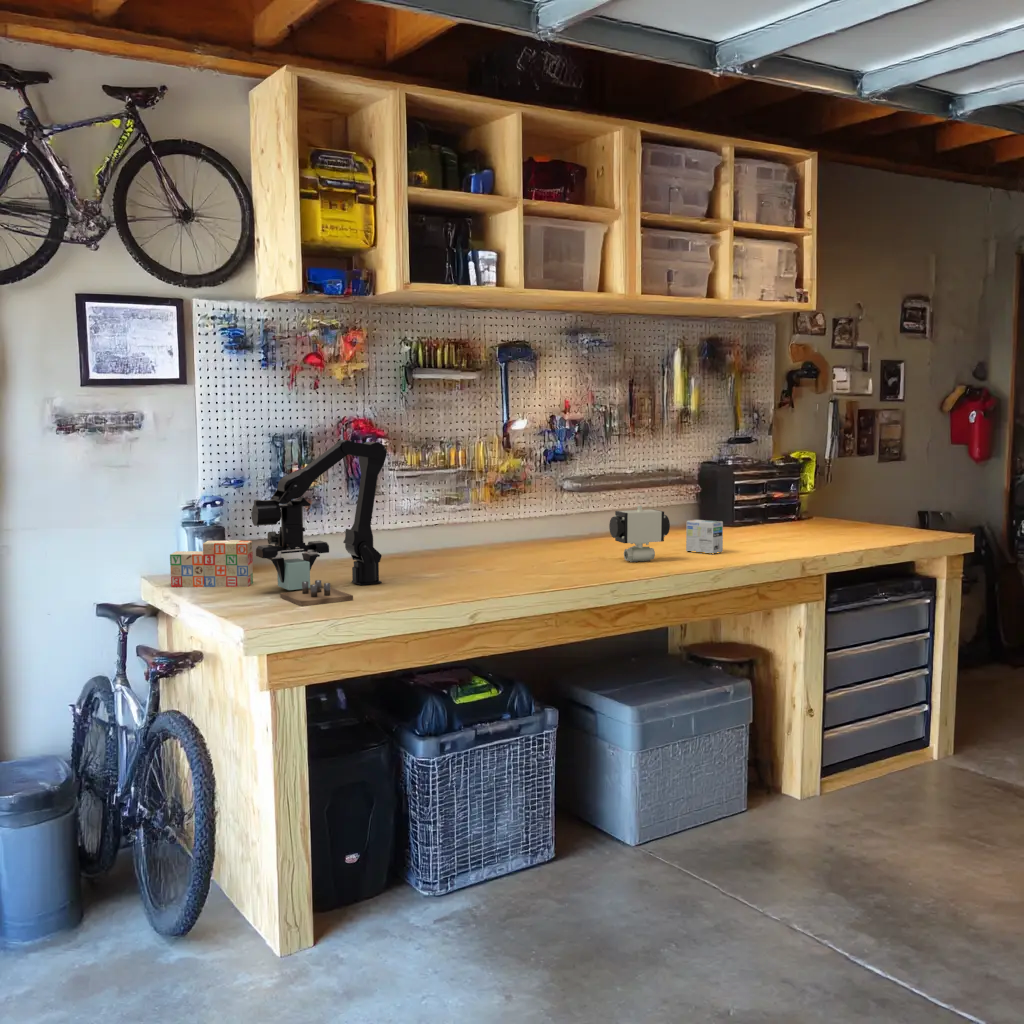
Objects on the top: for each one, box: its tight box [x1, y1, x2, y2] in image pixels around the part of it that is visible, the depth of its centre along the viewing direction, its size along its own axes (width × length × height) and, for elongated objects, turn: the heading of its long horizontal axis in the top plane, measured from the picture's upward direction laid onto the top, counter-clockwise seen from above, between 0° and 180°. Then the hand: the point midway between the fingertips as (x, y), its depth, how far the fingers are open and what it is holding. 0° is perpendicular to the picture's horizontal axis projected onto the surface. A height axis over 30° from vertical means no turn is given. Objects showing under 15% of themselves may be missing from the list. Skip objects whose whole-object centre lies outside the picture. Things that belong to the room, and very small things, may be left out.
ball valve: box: [608, 505, 671, 563], centre depth 322 cm, size 18×8×18 cm, turn 108°
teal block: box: [276, 558, 311, 591], centre depth 273 cm, size 6×8×7 cm
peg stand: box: [279, 579, 354, 607], centre depth 260 cm, size 14×14×4 cm
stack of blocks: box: [169, 539, 254, 588], centre depth 282 cm, size 21×6×12 cm, turn 92°
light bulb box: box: [685, 519, 724, 553], centre depth 341 cm, size 11×7×11 cm, turn 49°
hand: (293, 581), depth 273 cm, fingers closed on teal block, 6 cm apart
